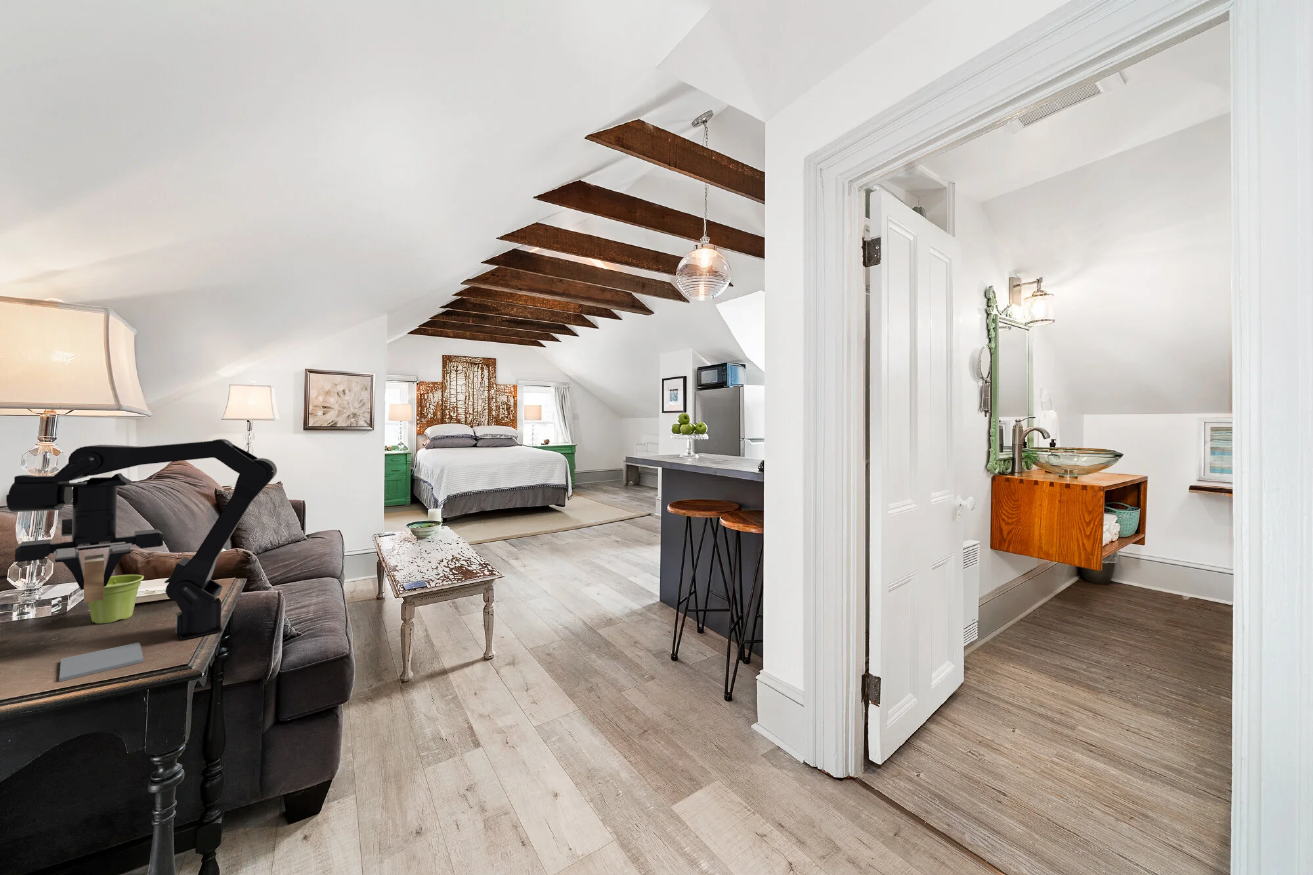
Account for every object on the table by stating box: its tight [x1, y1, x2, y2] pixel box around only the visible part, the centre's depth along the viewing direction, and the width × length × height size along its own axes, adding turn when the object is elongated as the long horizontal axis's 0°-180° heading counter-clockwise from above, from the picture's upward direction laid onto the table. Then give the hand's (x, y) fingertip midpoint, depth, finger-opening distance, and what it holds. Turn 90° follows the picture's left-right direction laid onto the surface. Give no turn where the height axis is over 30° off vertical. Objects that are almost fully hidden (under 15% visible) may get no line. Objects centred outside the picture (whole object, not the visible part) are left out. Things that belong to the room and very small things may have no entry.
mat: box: [58, 642, 144, 682], centre depth 91 cm, size 10×10×1 cm
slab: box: [83, 553, 105, 604], centre depth 96 cm, size 2×5×8 cm, turn 49°
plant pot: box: [87, 574, 145, 624], centre depth 110 cm, size 9×9×9 cm
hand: (93, 587), depth 96 cm, fingers closed on slab, 2 cm apart
